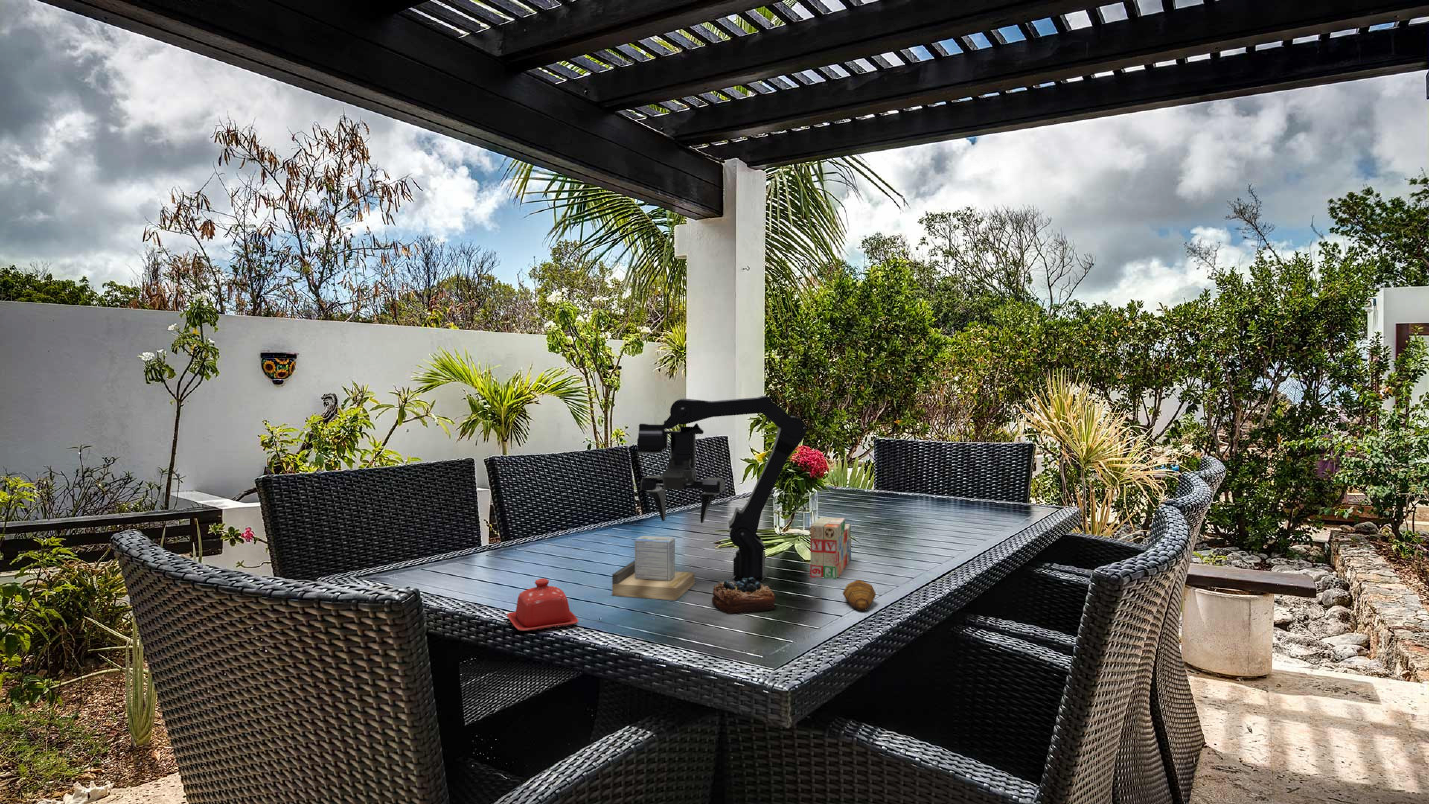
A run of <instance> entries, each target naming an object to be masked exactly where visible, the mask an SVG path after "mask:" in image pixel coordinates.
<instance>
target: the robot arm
mask: <svg viewBox="0 0 1429 804" xmlns="http://www.w3.org/2000/svg"><path fill="white" fill-rule="evenodd" d="M669 409H670V410H669V411H670V412H669V413H670V415H669V416H668V418H667V419H664V420H663V424H652V423H651V424H649V423H639V425H638V435H637V443H636V444H637V447H636V448H637V453H638V454H663V453H664V450H668V448H669V445H670V449H669V450H670V455H669V456H670V457H669V459H668V467H667V468H666V469H665V471H663V473H662V475H651V474H650V475H647V476H644V477H642V479H640V484H639V485H640V490H641V491H645V493H646V494H647V495H650V497H652V498H653V500H654V503H655V504H656V507H657V510H658V513H659V516H660V519H661V521H662V522H664V521H666V514H667V512H666V509H667V508H666V506H667V505H666V502H667V501H666V490H667V491H668V490H677V491H683V490H684V489H697V490H702V491H704V492H702V493H701V494H700V495H701V496H700V498H701V507H700V517H699V518H700V523H701V524H703V523H705V519H706V517H707V514H708V511H709V508H710V506H711V503H712V502H713V500H714V498H715V496H718V495H719V494H720V493H723V492H724V491H726V481H725V480H724V478H723V477H707V478H705V479H703V480H697V474H696V462H697V457H696V444H697V443H696V440H697V439H696V435H703V434H704V430H703V429H702V428H701V427H700V425H699V424H698V422H699V421H701V420H705V419H710V418H715V417H716V418H719V417H730V416H742V415H753V414H754V415H755V414H762V415H763V416H765V418H767V419H768V420H769V421H770V422H772V423H773V425H775V426H776V427H777V430H776V435H775V439H774V443H773V446H772V451H771V453H770V455H769V457H768V458H767V461H766V462H765V465H764V467H763V469H762V471H761V473H760V475H759V477H758V480H757V481H756V484H755V486H754V487H753V489H752V492H751V493H750V496H749V498H748V500H747V502H746V504H745V505H744V506H743V507H742V509H739V508H738V507H735V509H734V511H733V516H732V517H731V519H730V520H728V528H729V529H728V532H729V538H730V541H731V543H732V544H733V545H734V546H736V547H738V549H737V550H736V551H735V557H734V558H733V559H732V561H733V563H732V564H733V569H732V570H733V572H732V573H733V576H734V577H733V581H740V582H741V581H742V579H743V578H747V579H748V578H750V577H752V578H754V579H755V580H756V581H758V582H760V583H762V582H763V581H764V580H765V579H766V577H767V576H768V575H767V573H766V551H765V544H764V542H763V539H762V538H761V537H760V535H759V534H757V533H758V529H759V524H760V521H761V515H762V512H763V510H764V507H765V506H766V503H767V502H768V499H769V498H770V496H771V494H772V491H773V489H774V487H775V485H776V484H777V481H778V479H779V477H780V475H781V473H782V471H783V469H784V466H785V465H786V463H787V461H788V459H789V457H790V456H791V455H792V454H793V452H794V451H795V450H796V449H797V448H798V447H799V445H800V444H801V442H802V441H803V440H804V438H805V436H806V434H807V430H808V429H807V425H806V423H805V422H804V420H802V419H801V418H799V417H797V416H794V415H789V414H788V412H786V411H785V410H784V409H782V407H780V406H779V405H778V404H776V403H775V402H774V401H773V400H772V398H771V397H769V396H767V395H761V396H758V397H747V398H735V399H721V400H703V399H702V400H701V399H691V398H680V399H678V400H675V401H674V402H673V403H672V405H671V406H670V408H669ZM695 422H696V423H695ZM692 423H694V425H693V426H680V430H672V429H673V428H675V427H676V426H678V425H687V424H692ZM669 435H670V444H669V441H668V440H669V439H668V438H669V437H668V436H669ZM668 444H669V445H668Z"/></svg>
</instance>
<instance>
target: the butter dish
mask: <svg viewBox="0 0 1429 804" xmlns="http://www.w3.org/2000/svg"><path fill="white" fill-rule="evenodd" d="M549 582H550V581H549V579H547V578H539V579H537V580H535V581H534V584H535V585H536V586H534V587H531V588H528V589H526V590H525V589H524V590H523V591H521V592H520V593H519V595H518V597H517V603H516V606H515V607H516V609H515V611H513V612H509V613H507V614H506V616H507V618H508V620H509V621H510V622H511V624H512V625H513V626H514V628H515V629H517V630H518V631H521V632H526V631H527V632H531V631H530V630H532V631H538V630H537V629H540V630H545V629H544V628H547V629H552V628H551V627H555V628H559V627H558V626H563V627H566V626H572V625H574V624H577V623H579V618H577V617H576V615H575V614H574V613H573V612H572V611H571V610H570V605H569V601H568V597H567V595H566V593H565V592H564V591H563V590H562V589H561V588H559V587H557V586H553V585H549Z"/></svg>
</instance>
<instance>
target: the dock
mask: <svg viewBox="0 0 1429 804" xmlns="http://www.w3.org/2000/svg"><path fill="white" fill-rule="evenodd" d="M695 573H696V572H690V571H689V572H688V571H676V570H675V576H674V577H673V578H672V579H671V580H669V581H666V580H651V579H635V560H633V561H632V562H630V563H628V564H626V565H625V566H624V567H622V568H620V569H618V570H617V571H615V572H614V573H612V574H611V575H612V579H611V580H612V581H611V582H612V583H611V584H612V586H611V587H612V588H611V589H612V590H611V591H612V593H611V594H612V595H614V597H615V596H616V597H625V598H627V597H628V598H639V599H640V598H641V599H654V600H665V601H666V600H667V601H677V600H678V599H679V598H680V597H682V595H684V594H685V593H686V592H688V590H690V589H691V588H692V587H693V586H694V585H695V581H696V577H695Z"/></svg>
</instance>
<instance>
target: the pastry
mask: <svg viewBox="0 0 1429 804" xmlns="http://www.w3.org/2000/svg"><path fill="white" fill-rule="evenodd" d="M712 589H713V590H712V597H711V603H712V604H713V605H714V607H716V609H718V610H720V611H722V612H723V613H726V614H727V615H737V614H738V615H739V614H750V613H760V612H767V611H772V610H775V608H776V606H775V602H776V596H775V593H774V592H773V591H772V589H770V587H769V586H768V585H763V584H762V582H758V581H756V580H755V579H754V578H752V577H750V578H748V579H747V578H743V579H742V581H738V580H736V582H735V583H734V582H729V580H725V581H723V582H718V583H717V585H714V586H713V588H712Z"/></svg>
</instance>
